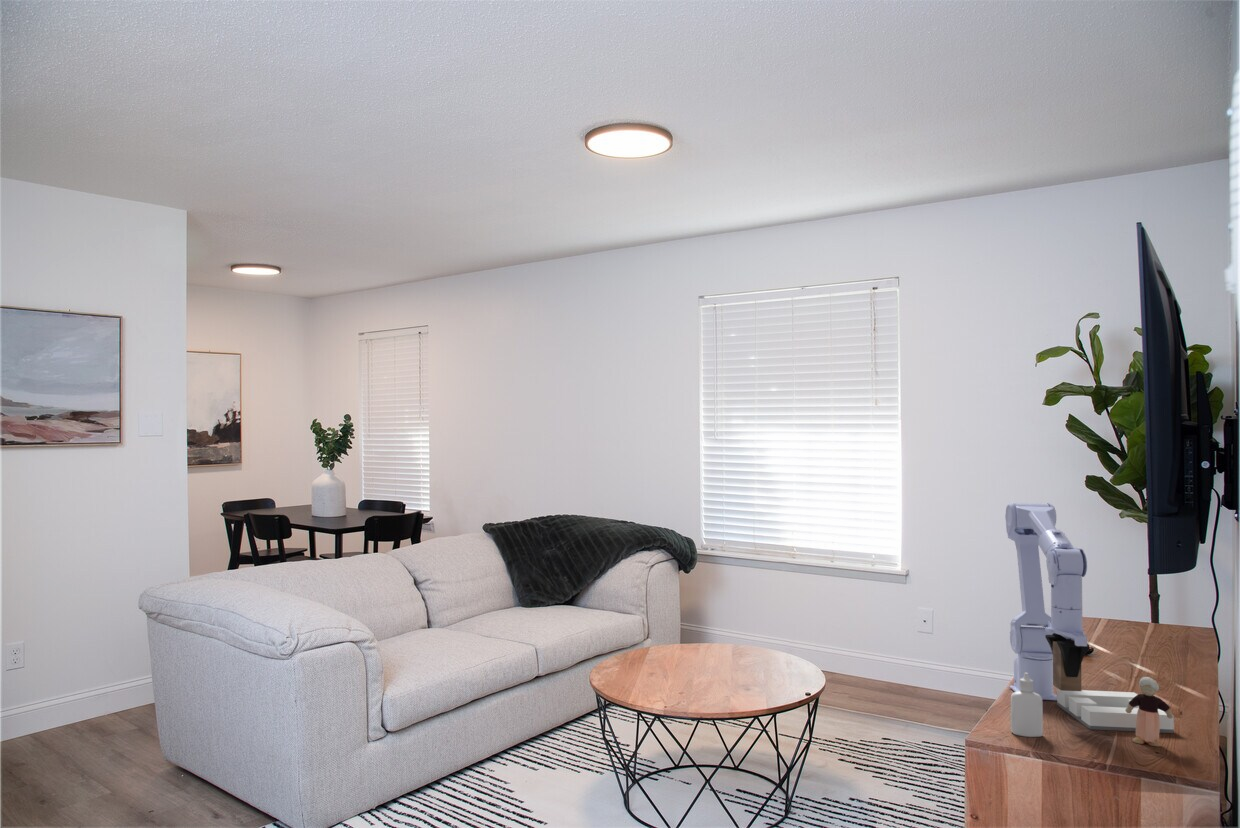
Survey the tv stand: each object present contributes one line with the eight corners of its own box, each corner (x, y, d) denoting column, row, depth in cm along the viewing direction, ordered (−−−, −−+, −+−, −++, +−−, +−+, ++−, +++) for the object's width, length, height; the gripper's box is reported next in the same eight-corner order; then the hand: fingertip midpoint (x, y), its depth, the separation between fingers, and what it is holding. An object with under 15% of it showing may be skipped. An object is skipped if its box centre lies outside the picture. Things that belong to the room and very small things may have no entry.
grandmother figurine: (1128, 743, 162) (1128, 677, 163) (1124, 737, 166) (1124, 672, 166) (1175, 749, 159) (1174, 681, 160) (1170, 742, 163) (1169, 676, 163)
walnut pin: (1052, 684, 175) (1052, 641, 176) (1073, 685, 175) (1072, 642, 175) (1060, 690, 172) (1060, 645, 172) (1081, 691, 171) (1081, 646, 171)
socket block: (1057, 705, 186) (1057, 689, 186) (1133, 708, 184) (1133, 692, 185) (1089, 729, 170) (1089, 711, 170) (1173, 733, 169) (1173, 715, 169)
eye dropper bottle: (1014, 728, 170) (1014, 668, 171) (1044, 734, 167) (1044, 673, 167) (1008, 733, 167) (1008, 672, 167) (1039, 740, 163) (1039, 677, 164)
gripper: (1033, 600, 182) (1033, 663, 181) (1060, 613, 167) (1060, 682, 167) (1067, 601, 181) (1067, 665, 180) (1098, 614, 166) (1098, 684, 166)
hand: (1066, 673), depth 173 cm, fingers closed on walnut pin, 4 cm apart
